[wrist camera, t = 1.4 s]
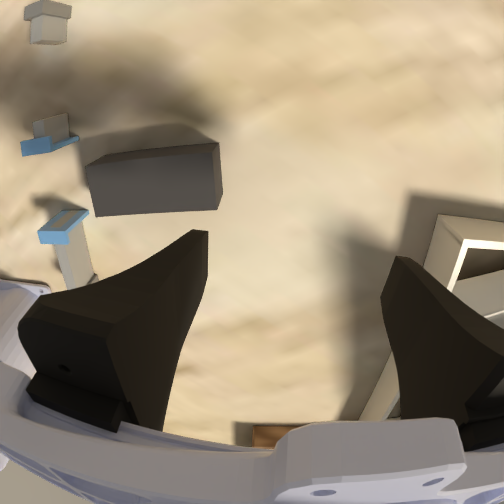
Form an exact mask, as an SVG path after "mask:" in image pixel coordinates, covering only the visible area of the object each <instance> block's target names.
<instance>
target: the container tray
mask: <svg viewBox="0 0 504 504" xmlns="http://www.w3.org/2000/svg"><path fill="white" fill-rule="evenodd" d="M468 248H482V249H497V250H504V222H497V221H489V220H482V219H474V218H466V217H457V216H449V215H440V214H438V217H437V221H436V224H435V228H434V232H433V236H432V239H431V243H430V246H429V250H428V253H427V256H426V260H425V263H424V266H423V268H424V269H425V270H426V271H427V272H429V273H430V274H431V275H432V276H433V277H434V278H435V279H437V280H438V281H439V282H440V283H441V284H442V285H443V286H445V287H446V288H447V289H448V290H449V291H450V292H451V293H452V290H453V288H454V285H455V282H456V280H457V277H458V275H459V272H460V269H461V266H462V263H463V261H464V258H465V255H466V252H467V249H468ZM399 398H400V392H399V383H398V374H397V369H396V364H395V360H394V356H393V352H391V354H390V356H389V359H388V361H387V363H386V365H385V367H384V370H383V372H382V374H381V376H380V378H379V380H378V382H377V384H376V386H375V388H374V391H373V393H372V395H371V397H370V399H369V400H368V402H367V404H366V406H365V408H364V410H363V412H362V414H361V416H360V418H359V419H358V421H384V420H400V417H396V418H389V419H387V417H388V415H389V414H390V412H391V411H392V409H393V407H394V406H395V404H396V403H397V401H398V399H399Z"/></svg>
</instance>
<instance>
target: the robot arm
mask: <svg viewBox="0 0 504 504" xmlns="http://www.w3.org/2000/svg"><path fill="white" fill-rule="evenodd" d="M207 277H208V231H202V230H194V229H192V230H191V231H189V232H187V233H186V234H185V235H183V236H182V237H180V238H179V239H177V240H176V241H174V242H173V243H172V244H170V245H169V246H167V247H166V248H164V249H163V250H161V251H160V252H158V253H156V254H155V255H153V256H151V257H150V258H148V259H146V260H145V261H143V262H141V263H139V264H137V265H136V266H134V267H132V268H130V269H127V270H125V271H123V272H121V273H119V274H116V275H114V276H111V277H108V278H106V279H103V280H101V281H98V282H95V283H92V284H89V285H85V286H82V287H78V288H74V289H70V290H66V291H61V292H55V293H51V290H50V288H49V287H48V286H46V285H40V284H32V283H24V282H17V281H9V280H2V279H0V471H2V470H3V468H4V467H5V466H6V464H7V462H8V460H9V459H10V460H12V461H13V462H15V463H17V464H18V465H20V466H22V467H23V468H25V469H27V470H29V471H30V472H32V473H34V474H35V475H37V476H39V477H41V478H43V479H45V480H46V481H48V482H50V483H52V484H54V485H56V486H58V487H60V488H62V489H64V490H66V491H68V492H70V493H72V494H74V495H76V496H78V497H81V498H83V499H85V500H87V501H89V502H92V503H94V504H497V503H500V502H502V501H504V329H503V328H501V327H499V326H498V325H496V324H494V323H493V322H491V321H489V320H488V319H486V318H485V317H483V316H482V315H480V314H479V313H477V312H476V311H475V310H473V309H472V308H470V307H469V306H468V305H466V304H465V303H464V302H462V301H461V300H460V299H459V298H458V297H456V296H455V295H454V294H453V293H451V292H450V291H449V290H448V289H447V288H446V287H445V286H443V285H442V284H441V283H440V282H439V281H438V280H437V279H435V278H434V277H433V276H432V275H431V274H430V273H429V272H427V271H426V270H425V269H424V268H423V267H421V266H420V265H419V264H418V263H416V262H415V261H414V260H412V259H411V258H408V257H401V256H396V257H395V260H394V262H393V265H392V268H391V271H390V273H389V276H388V279H387V281H386V284H385V287H384V289H383V292H382V294H381V297H380V298H381V306H382V313H383V319H384V323H385V327H386V330H387V334H388V338H389V341H390V345H391V349H392V352H393V356H394V360H395V364H396V369H397V374H398V383H399V392H400V408H401V420H384V421H328V422H315V423H310V424H307V425H304V426H301V427H298V428H294V429H292V430H290V431H289V432H288V433H287V434H285V435H284V436H283V437H282V438H281V439H280V440H279V441H277V443H276V446H275V448H274V450H272V449H261V448H252V447H244V446H236V445H229V444H222V443H216V442H210V441H204V440H199V439H193V438H188V437H183V436H179V435H174V434H170V433H165V432H162V431H163V425H164V420H165V415H166V410H167V405H168V400H169V396H170V391H171V387H172V383H173V379H174V375H175V371H176V367H177V363H178V360H179V356H180V352H181V349H182V346H183V343H184V341H185V338H186V336H187V333H188V331H189V328H190V326H191V324H192V321H193V319H194V316H195V314H196V311H197V309H198V307H199V304H200V302H201V299H202V296H203V292H204V289H205V285H206V281H207ZM36 371H37V372H36Z"/></svg>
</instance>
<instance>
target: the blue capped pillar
mask: <svg viewBox="0 0 504 504" xmlns="http://www.w3.org/2000/svg"><path fill="white" fill-rule="evenodd" d="M71 7H72V6H69V5H66V4H62V3H58V2H54V1H49V0H40V1H38V2H35V3H33V4H31V5H28V6H26V7H25V11H24V20H25V21H31V37H30V44H46V45H57V44H60V43H64V42H66V36H67V19H70V18H71ZM32 123H33V133H34V139H30V140H25V141H22V142H20V143H21V150H22V157H23V156H29V155H35V154H42V153H49V152H52V151H55V150H57V149H59V148H61V147H64V146H66V145H68V144H71V143H73V142H75V141H78V140H79V136H75V137H70V135H69V124H68V113H65V114H60V115H55V116H52V117H48V118H45V119H41V120H38V121H34V122H32ZM88 214H89V210H69V211H61V212H60V213H58V214H57V215H56V216H55V217H53V218H52V219H51V220H50V221H49V222H47V223H46V224H45V225H44V226H43V227H41V228H40V229H39V230H38V231H37V232H38V236H39V240H40V243H41V244H54V246H55V250H56V254H57V257H58V261H59V264H60V268H61V271H62V274H63V278H64V281H65V284H66V287H67V290H70V289H74V288H78V287H82V286H85V285H89V284H92V283H95V282H98V281H99V280H98V276H97V275H94V271H93V268H92V264H91V259H90V255H89V251H88V247H87V242H86V238H85V233H84V228H83V223H82V220H83V219H84V218H85V217H86V216H87V215H88Z"/></svg>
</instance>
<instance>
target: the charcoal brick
mask: <svg viewBox="0 0 504 504" xmlns="http://www.w3.org/2000/svg"><path fill="white" fill-rule="evenodd" d="M85 169H86V174H87V179H88V184H89V189H90V194H91V198H92V203H93V207H94V211H95V216H96V217H104V216H117V215H132V214H148V213H165V212H184V211H206V210H217V209H218V206H219V203H220V200H221V197H222V195H223V187H222V174H221V161H220V148H219V143H209V144H196V145H184V146H173V147H164V148H154V149H146V150H138V151H130V152H123V153H116V154H109V155H105V156H103V157H101V158H99V159H98V160H96V161H94V162H92V163H90V164H89V165H87V166H85Z"/></svg>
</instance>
